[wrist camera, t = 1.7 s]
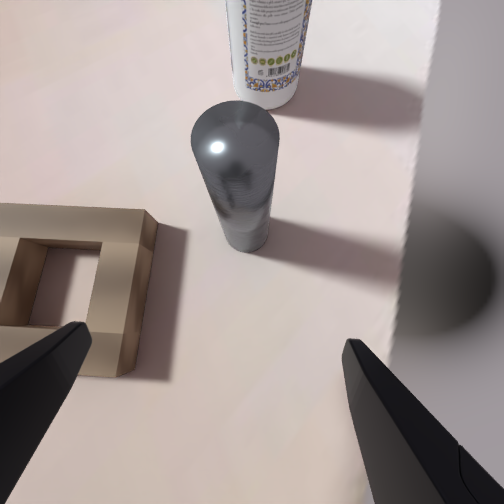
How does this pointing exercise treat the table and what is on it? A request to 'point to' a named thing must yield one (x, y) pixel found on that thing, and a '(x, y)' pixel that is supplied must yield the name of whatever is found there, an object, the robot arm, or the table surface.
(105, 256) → the holder block
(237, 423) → the table surface
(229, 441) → the table surface
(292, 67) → the bath foam
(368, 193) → the table surface
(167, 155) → the table surface
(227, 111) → the grey metal cylinder
